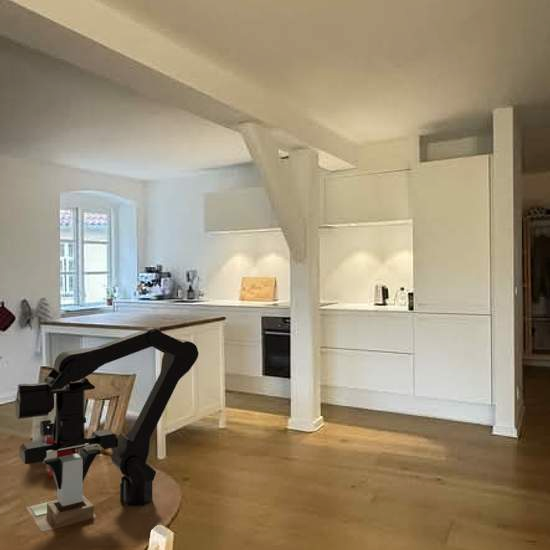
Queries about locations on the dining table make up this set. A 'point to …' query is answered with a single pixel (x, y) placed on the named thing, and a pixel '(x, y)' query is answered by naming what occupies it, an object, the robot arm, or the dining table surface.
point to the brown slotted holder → (60, 513)
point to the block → (71, 480)
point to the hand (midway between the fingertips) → (69, 486)
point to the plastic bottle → (36, 425)
